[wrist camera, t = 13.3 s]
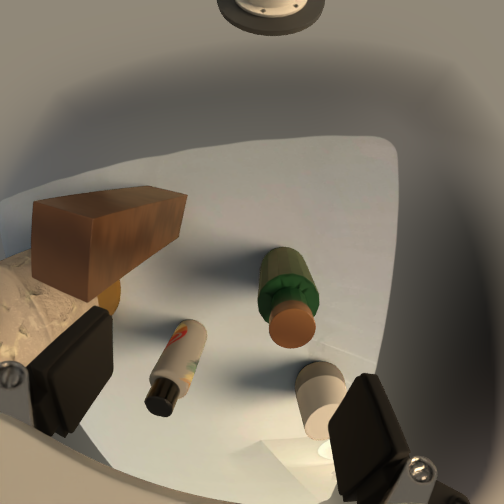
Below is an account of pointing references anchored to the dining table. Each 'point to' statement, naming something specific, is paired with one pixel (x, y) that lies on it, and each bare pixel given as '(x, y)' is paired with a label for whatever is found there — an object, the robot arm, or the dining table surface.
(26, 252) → the vase
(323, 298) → the dining table surface
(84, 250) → the brown block
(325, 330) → the dining table surface
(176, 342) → the lotion bottle
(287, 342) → the cork stopper
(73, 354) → the robot arm
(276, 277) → the green bottle
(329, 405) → the smart speaker
